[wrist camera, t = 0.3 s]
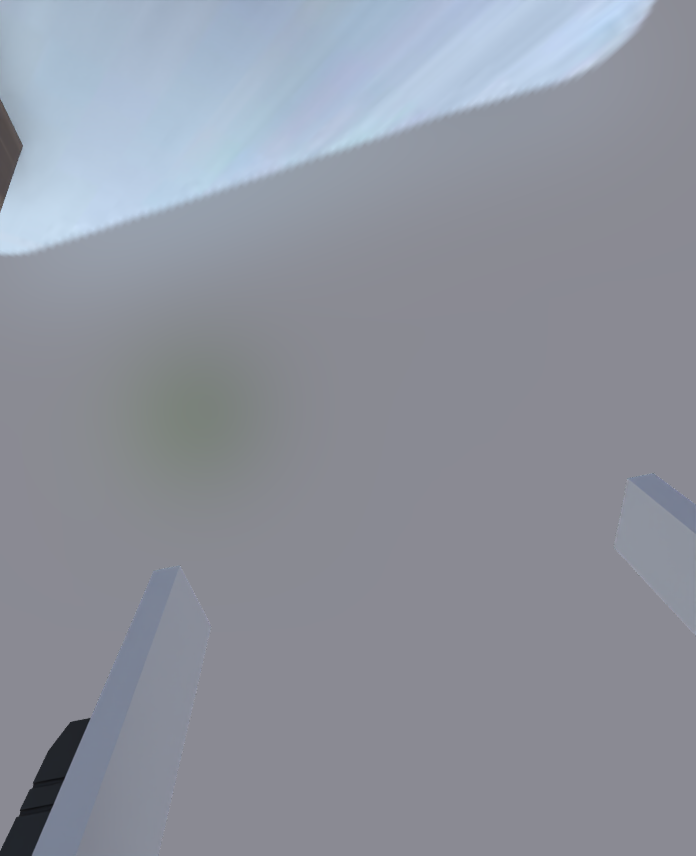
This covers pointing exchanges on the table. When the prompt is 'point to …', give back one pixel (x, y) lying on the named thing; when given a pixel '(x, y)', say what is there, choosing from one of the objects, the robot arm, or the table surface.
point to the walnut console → (7, 152)
